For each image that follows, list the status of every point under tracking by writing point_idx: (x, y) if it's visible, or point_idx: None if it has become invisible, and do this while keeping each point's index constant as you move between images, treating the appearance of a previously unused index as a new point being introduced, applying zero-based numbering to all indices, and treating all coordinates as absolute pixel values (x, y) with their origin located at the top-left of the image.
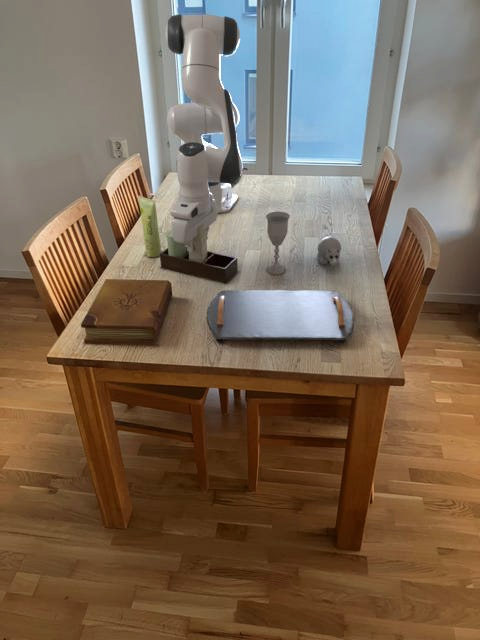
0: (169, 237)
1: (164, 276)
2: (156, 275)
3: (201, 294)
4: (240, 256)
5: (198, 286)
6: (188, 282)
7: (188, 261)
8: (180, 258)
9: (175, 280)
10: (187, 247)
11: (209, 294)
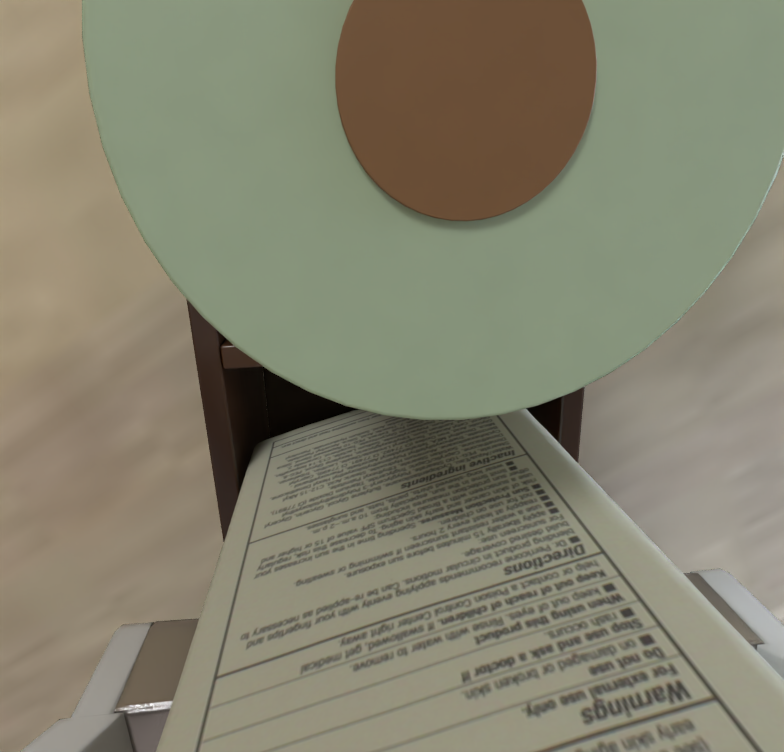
0: (98, 14)
1: (59, 166)
2: (12, 51)
3: (29, 660)
4: (756, 587)
5: (121, 576)
6: (123, 467)
7: (217, 473)
8: (201, 347)
9: (70, 334)
10: (92, 692)
11: (73, 704)
